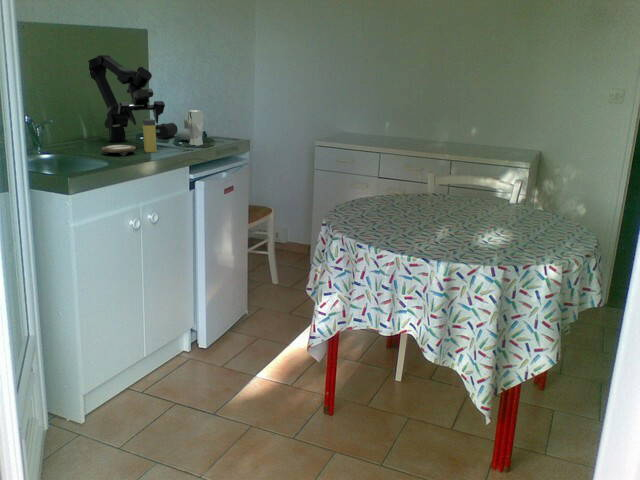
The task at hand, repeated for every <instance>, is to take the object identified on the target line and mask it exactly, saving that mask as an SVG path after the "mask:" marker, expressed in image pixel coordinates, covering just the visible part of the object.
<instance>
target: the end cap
mask: <svg viewBox="0 0 640 480" xmlns="http://www.w3.org/2000/svg"><path fill="white" fill-rule="evenodd" d="M155 129H156V138H158V139H157V140H166V139H169V138H172V137H174V136H175V135H176V134H177V133H178V125H177V124H175V123H174V122H169V123H160V124H155ZM157 131H158V132H157Z"/></svg>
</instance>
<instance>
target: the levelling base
mask: <svg viewBox="0 0 640 480" xmlns="http://www.w3.org/2000/svg"><path fill="white" fill-rule="evenodd" d="M101 151H102V153H103V154H104V155H109V154H110V153H118V154H119V155H120V156H121V155H122V156H121V157H125V155H126V156H127V155H128V153H131V152H135V151H136V146H135V145H131V144H112V145H105V146H102V147H101Z"/></svg>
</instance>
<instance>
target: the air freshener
mask: <svg viewBox="0 0 640 480" xmlns="http://www.w3.org/2000/svg"><path fill="white" fill-rule="evenodd" d="M183 123H184V124H183V125H184V126H183V128H182V129H180V130H179V132H178V133H179V134H178V136H179V137H180V139H181V140H183V139H189V140H190V134H189V129H188V123H187V118H184V119H183ZM203 137H204V132H203V131H202V138H203Z"/></svg>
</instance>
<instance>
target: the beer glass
mask: <svg viewBox="0 0 640 480" xmlns="http://www.w3.org/2000/svg"><path fill="white" fill-rule="evenodd" d="M186 112H187V115H186V116H187V117H186V119H187V123H188V129H189V134H190V141H188V142H189V144H191V145H195V146H194V147H201V146H203V145H204V143H203V137H202V132H203V129H204V113H203V112H204V111H203V110H201V109H200V110H199V109H190V110H187V111H186ZM191 145H190V146H191ZM200 145H201V146H200Z"/></svg>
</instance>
